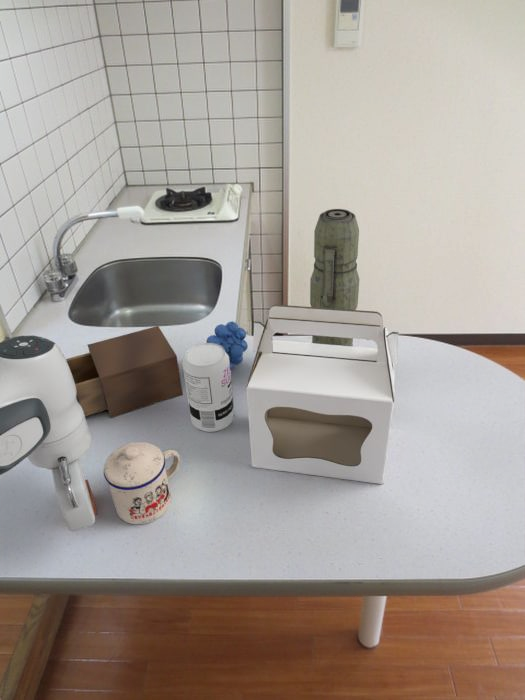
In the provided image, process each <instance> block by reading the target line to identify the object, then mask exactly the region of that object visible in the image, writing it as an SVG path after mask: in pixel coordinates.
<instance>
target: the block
mask: <svg viewBox="0 0 525 700" xmlns="http://www.w3.org/2000/svg"><path fill="white" fill-rule="evenodd" d="M85 481H86V484H87V488H88V492H89V496H90V500H91V503H92V507H93V511H94V515H95V516H96V515H98V510H97V509H98V508H97V506H96V502H95V497H94V495H93V491H92V488H91V485H90V483H89V479H86V478H85Z"/></svg>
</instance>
